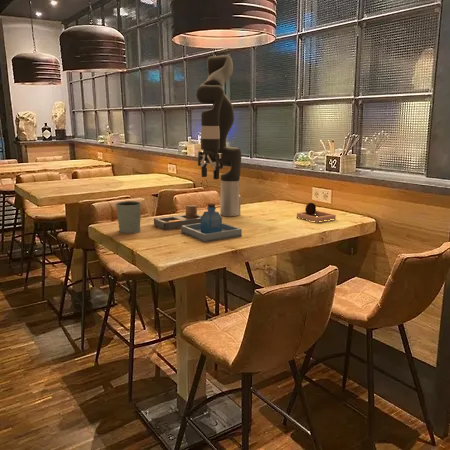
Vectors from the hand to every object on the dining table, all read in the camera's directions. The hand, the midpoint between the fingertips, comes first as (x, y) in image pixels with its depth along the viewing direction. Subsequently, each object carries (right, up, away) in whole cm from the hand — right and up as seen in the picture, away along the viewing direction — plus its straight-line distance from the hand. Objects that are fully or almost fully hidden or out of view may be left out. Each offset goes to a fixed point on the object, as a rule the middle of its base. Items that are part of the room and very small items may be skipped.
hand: (210, 178), depth 188 cm
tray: (0, -23, +4) cm, 23 cm away
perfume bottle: (0, -22, +3) cm, 23 cm away
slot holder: (-14, -19, +20) cm, 31 cm away
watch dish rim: (+50, -16, +36) cm, 64 cm away
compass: (+51, -16, +39) cm, 66 cm away
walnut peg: (-9, -18, +23) cm, 31 cm away
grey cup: (-34, -22, +7) cm, 41 cm away
